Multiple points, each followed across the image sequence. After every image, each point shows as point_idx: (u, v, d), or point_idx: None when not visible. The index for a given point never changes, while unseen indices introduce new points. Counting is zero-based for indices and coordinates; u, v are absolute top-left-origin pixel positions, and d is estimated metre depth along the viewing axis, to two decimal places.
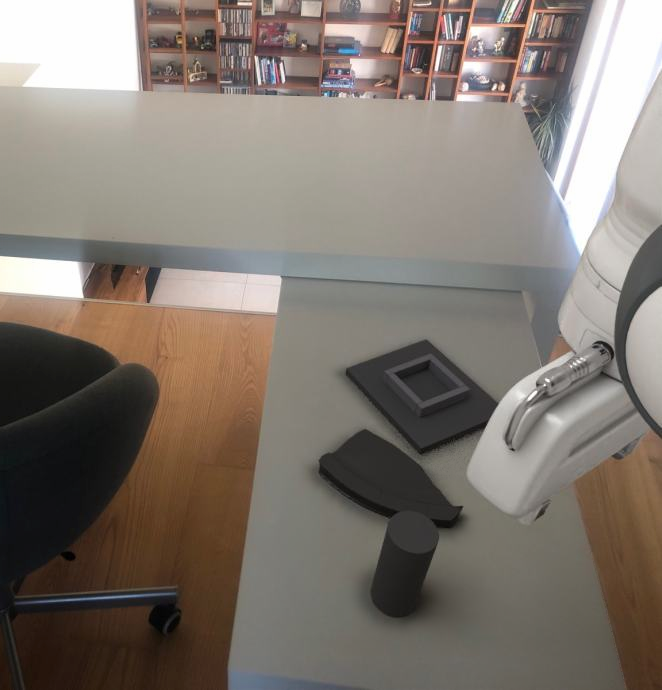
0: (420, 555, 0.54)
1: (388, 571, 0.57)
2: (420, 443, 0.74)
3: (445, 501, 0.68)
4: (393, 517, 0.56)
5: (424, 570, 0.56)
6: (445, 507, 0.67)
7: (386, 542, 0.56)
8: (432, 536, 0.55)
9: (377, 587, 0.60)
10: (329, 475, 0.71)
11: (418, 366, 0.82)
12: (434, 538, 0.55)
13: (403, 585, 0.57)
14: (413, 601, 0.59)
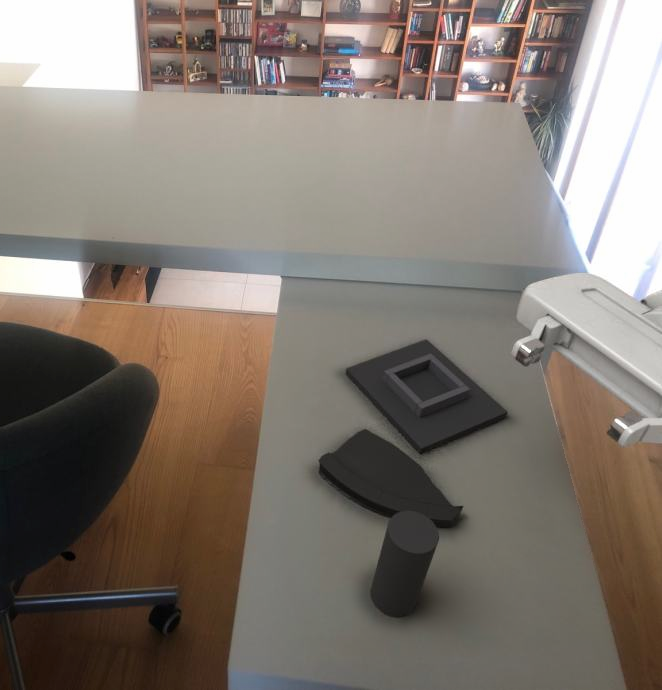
0: (420, 555, 0.54)
1: (388, 571, 0.57)
2: (420, 443, 0.74)
3: (445, 501, 0.68)
4: (393, 517, 0.56)
5: (424, 570, 0.56)
6: (445, 507, 0.67)
7: (386, 542, 0.56)
8: (432, 536, 0.55)
9: (377, 587, 0.60)
10: (329, 475, 0.71)
11: (418, 366, 0.82)
12: (434, 538, 0.55)
13: (403, 585, 0.57)
14: (413, 601, 0.59)
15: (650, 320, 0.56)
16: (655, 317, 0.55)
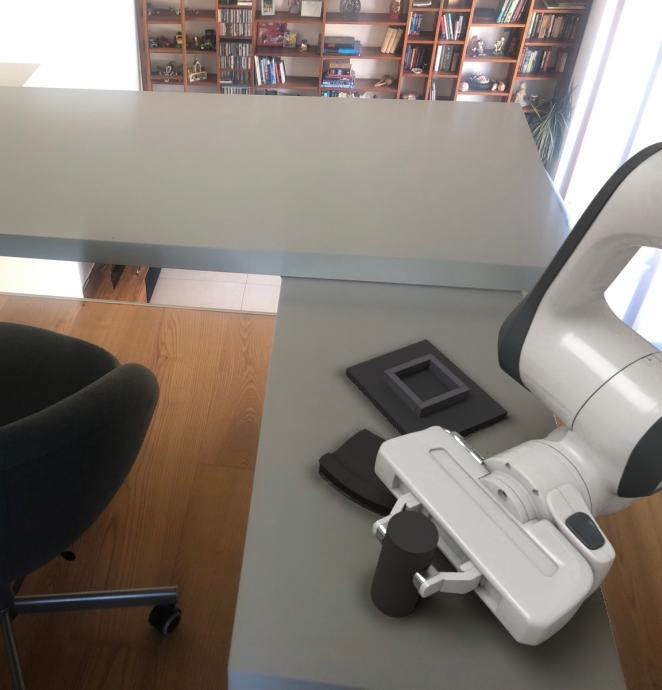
0: (419, 554, 0.54)
1: (387, 571, 0.57)
2: None
3: None
4: (393, 517, 0.56)
5: None
6: None
7: (386, 542, 0.56)
8: (432, 536, 0.55)
9: (377, 587, 0.60)
10: (329, 475, 0.71)
11: (418, 366, 0.82)
12: (434, 538, 0.55)
13: (403, 585, 0.57)
14: (413, 601, 0.59)
15: (484, 486, 0.61)
16: (488, 484, 0.60)
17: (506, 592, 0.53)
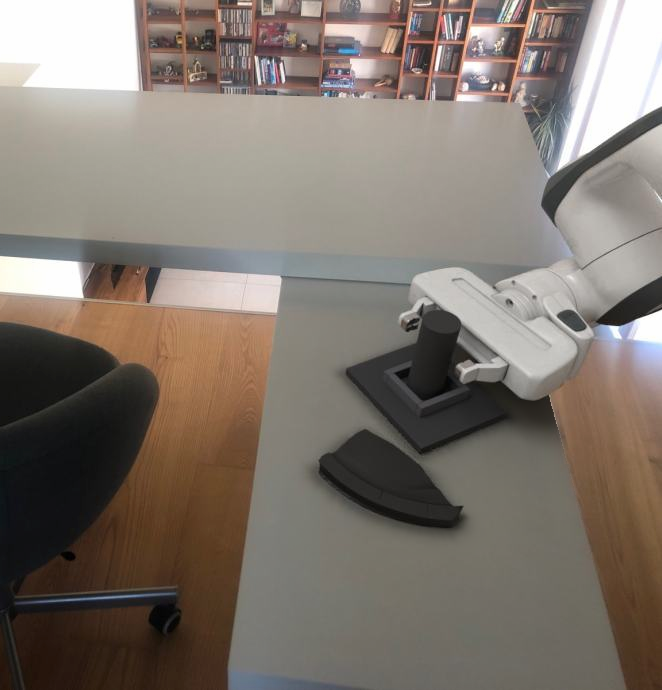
0: (447, 335, 0.72)
1: (422, 357, 0.75)
2: (420, 443, 0.74)
3: (445, 501, 0.68)
4: (426, 313, 0.75)
5: (450, 352, 0.74)
6: (445, 507, 0.67)
7: (421, 331, 0.74)
8: (456, 324, 0.73)
9: (412, 376, 0.78)
10: (329, 475, 0.71)
11: None
12: (458, 325, 0.73)
13: (433, 367, 0.75)
14: (440, 385, 0.77)
15: (495, 300, 0.79)
16: (498, 297, 0.78)
17: (512, 360, 0.71)
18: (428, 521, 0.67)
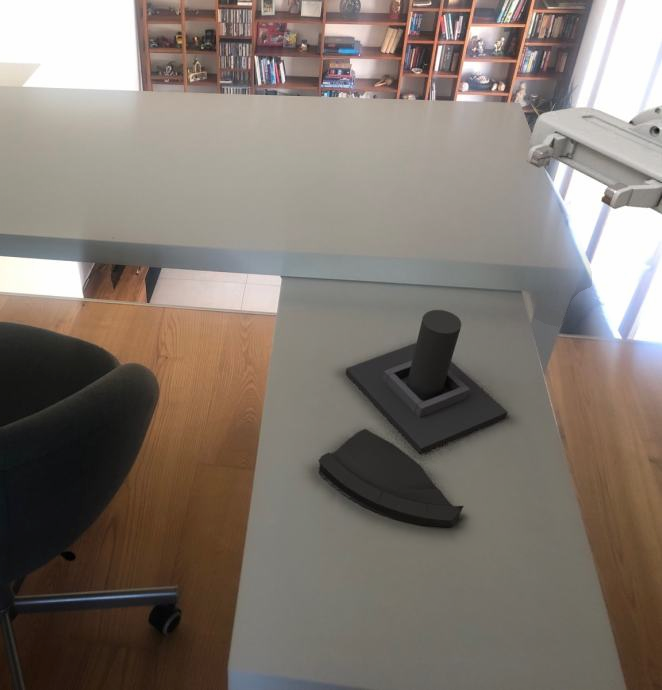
0: (447, 335, 0.72)
1: (422, 357, 0.75)
2: (420, 443, 0.74)
3: (445, 501, 0.68)
4: (426, 313, 0.75)
5: (450, 352, 0.74)
6: (445, 507, 0.67)
7: (421, 331, 0.74)
8: (456, 324, 0.73)
9: (412, 376, 0.78)
10: (329, 475, 0.71)
11: None
12: (458, 325, 0.73)
13: (433, 367, 0.75)
14: (440, 385, 0.77)
15: (635, 132, 0.71)
16: (639, 128, 0.71)
17: None
18: (428, 521, 0.67)
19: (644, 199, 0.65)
